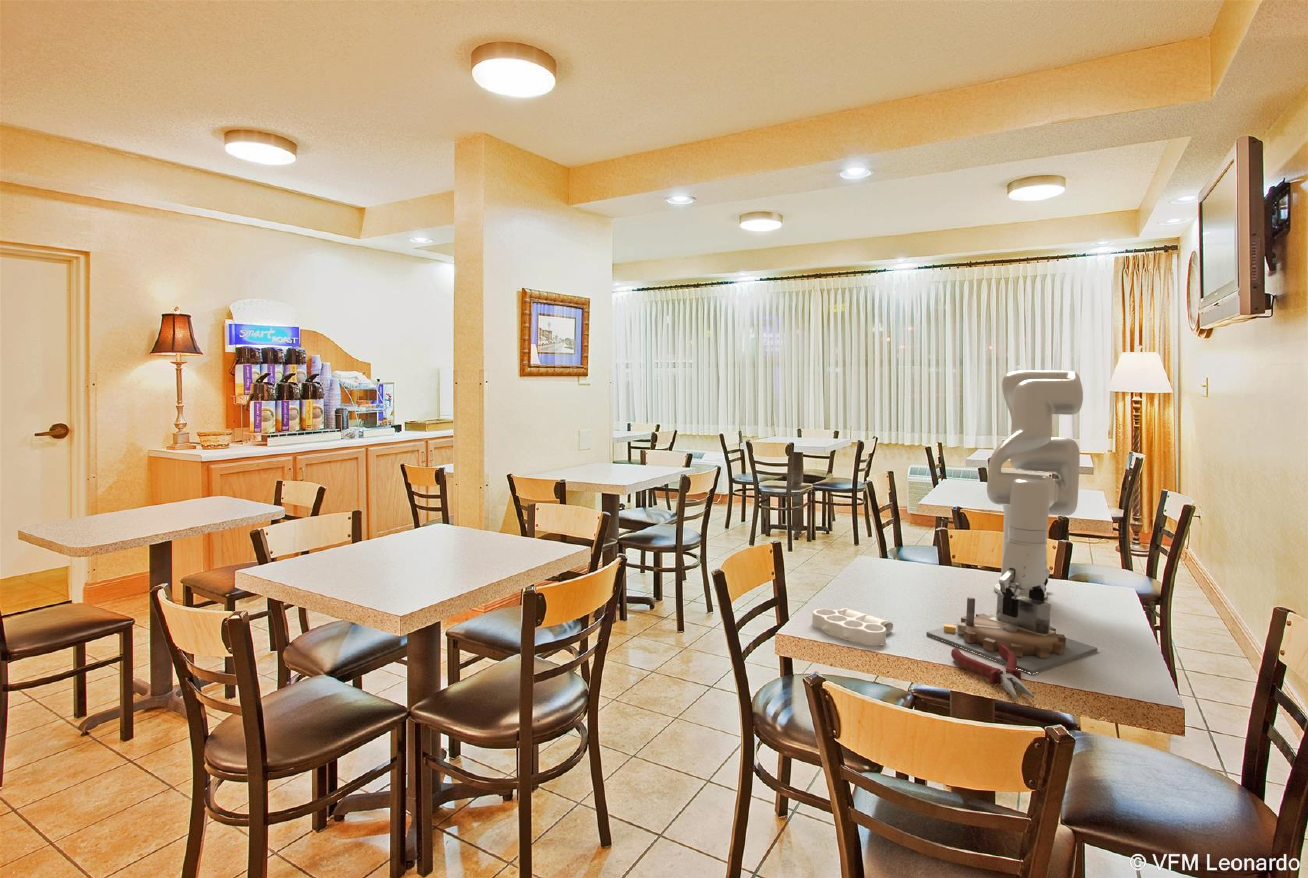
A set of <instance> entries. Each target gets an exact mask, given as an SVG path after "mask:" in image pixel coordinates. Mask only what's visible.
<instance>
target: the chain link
mask: <svg viewBox="0 0 1308 878" xmlns="http://www.w3.org/2000/svg"><path fill="white" fill-rule="evenodd" d="M996 596H997V597H996V598H997V599H996V614H995V616H996V619H997V620H998V621H1001V622H1004V623H1007V624H1010V625H1014V626H1017V627H1020V628H1023V629H1026V630H1029V631H1033V632H1036V633H1040V634H1048V633H1049V627H1050V623H1051V609H1052V608H1051V607H1052V605H1051V603H1048V602H1045V601H1044V602H1042V601H1038V600H1035V599H1031V598H1028V597H1024V596H1020V595H1018V597H1017V599H1019V605H1018V617H1016V618H1014V617H1011V616H1008V615H1005V614H1003V613H1002V610H1003V596H1002V592H998V593H997V595H996Z"/></svg>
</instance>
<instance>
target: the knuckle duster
mask: <svg viewBox="0 0 1308 878" xmlns="http://www.w3.org/2000/svg"><path fill="white" fill-rule="evenodd" d="M811 624H812V625H811V626H813V627H814V628H818V629H821V630H822V631H823V633H824V634H827V635H829V636H833V637H837V638H840V639H841V640H844V641H847V640H849V641H848V642H855V641H857V642H856V643H861V644H864V645H866V644H867V646H870V645H872V647H876V646H877V645H880V646H882V645H881V644H884V645H885V644H886V642H887V634H886V633H888V634H890V633H891V632H892V631H893V629H894V624H893V622H892V621H890V620H887V619H885V620H884V619H882V618H879V617H875V616H872V615H870V614H868V613H863V612H859V611H856V610H853V609H850V608H849V607H846V608H841V609H840V608H839V609H832V608H817V609H815V610H813V611H812V622H811ZM877 647H878V646H877Z"/></svg>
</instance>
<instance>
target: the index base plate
mask: <svg viewBox="0 0 1308 878" xmlns="http://www.w3.org/2000/svg"><path fill="white" fill-rule="evenodd" d="M987 616H996V614H995V615H994V614H991V613H990V614H988V615H987ZM957 627H958V623H956V624H950V623H949V624H948V623H944V624H943V627H940V628H936V629H932V630H929V631H926V635H928V636H927V637H929V636H930V638H932V637H934V638H937V639H939V640H938V641H940V640H943V641H945V642H947V643H946V644H948V643H949V644H948V645H950V644H953V645H956V646H958V647H962V648H964V649H967V650H969V651H973V652H975V653H977V654H981V655H983V656H985V657H988V658H991V659H993V660H996V661H997V662H996V661H995V662H996V663H998V662H1001V663H1003V664H1002V665H1004V664H1006V665H1007V662H1006V661H1005V660H1004V659H1003V658H1002V657H1001V656H1000V654H999V651H998V650H995V651H993V652H992V651H989V650H985V649H983V646H982V645H979V644H977V643H968V642H967V641H965V640H964V635H963V634H958V632H957ZM926 635H925V636H926ZM934 638H933V639H934ZM937 639H936V640H937ZM945 642H944V643H945ZM953 645H952V646H953ZM956 646H955V647H956ZM958 647H957V648H958ZM964 649H963V650H964ZM969 651H968V652H969ZM1097 652H1098V647H1097V646H1093V645H1091V644H1090V645H1089V644H1086V643H1084V642H1080V641H1077V640H1074V639H1072V638H1071V639H1070V638H1068V637H1066V646H1065V647H1064V653H1062V654H1061V655H1060V654H1056V653H1053V652H1052V653H1049V657H1047V658H1039V657H1038V656H1036V655H1023V657H1018V656H1016V659H1017V665H1016V668H1017V669H1021V670H1023V671H1026V672H1030V673H1031V674H1033V673H1036V672H1039V673H1041V672H1040V671H1042V672H1044V671H1043V670H1045V671H1047V670H1049V669H1053V668H1055V667H1058V666H1061V665H1064V664H1066V663H1070V662H1072V661H1074V660H1078V659H1081V658H1083V657H1086V656H1089V655H1091V654H1092V655H1093V654H1094V653H1097ZM977 654H976V655H977ZM985 657H984V658H985ZM988 658H987V659H988ZM993 660H992V661H993ZM1001 663H1000V664H1001ZM1006 665H1005V666H1006ZM1046 669H1047V670H1046ZM1036 674H1037V673H1036Z"/></svg>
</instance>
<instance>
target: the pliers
mask: <svg viewBox="0 0 1308 878" xmlns="http://www.w3.org/2000/svg"><path fill="white" fill-rule="evenodd" d="M999 654H1000V656H1001V657H1002V658H1003V659H1004V660H1005V661H1006V662H1007V666H1006V668H1005V672H1004V670H1002V669H1001V668H997V667H994V666H991V665H989V664H987V663H984V662H982V661H979V660H976V659H974V658H972V657H969V656H967V655H965V654H963V652H961V650H960V648H958V647H954V648H953V649H952V650H951V652H950V656H951V658H952V660H953V661H954V662H955V663H956V664H957V665H958V666H959V667H960V666H961V668H962V669H964V670H966V671H969V672H971V673H973V674H976V675H978V676H981V677H982V678H983V677H984V678H986V679H988V683H989V684H990V685H992V686H996V685H1002V687H1003V689H1004V690H1006V691H1007V692H1008V693H1009V694H1010V695H1011V696H1012V697H1014V698H1015V700H1017V701H1018V700H1019V698H1018V695H1017V693H1016V691H1018V692H1019V693H1021V694H1024V695H1025V696H1027V697H1030V698H1032V699H1034V698H1035V695H1034V694H1033V693H1032V692H1031V691H1030V689H1028V687H1027V686H1026V685H1025V684H1024V682H1022V673H1021V672H1022V671H1020V670H1018V669H1016V665H1017V659H1016V656H1015V654H1014V653H1013V652H1012V651H1011V650H1009V649H1008V648H1007V647H1006V646H1003V645H1000V646H999ZM1014 687H1015V688H1014ZM1015 690H1016V691H1015Z"/></svg>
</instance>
